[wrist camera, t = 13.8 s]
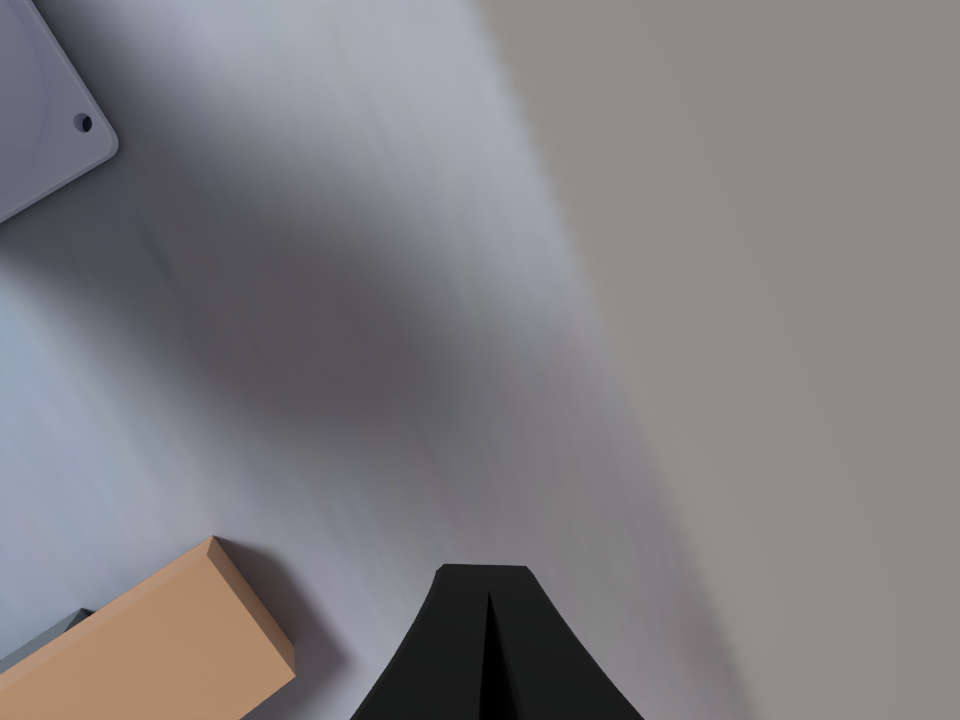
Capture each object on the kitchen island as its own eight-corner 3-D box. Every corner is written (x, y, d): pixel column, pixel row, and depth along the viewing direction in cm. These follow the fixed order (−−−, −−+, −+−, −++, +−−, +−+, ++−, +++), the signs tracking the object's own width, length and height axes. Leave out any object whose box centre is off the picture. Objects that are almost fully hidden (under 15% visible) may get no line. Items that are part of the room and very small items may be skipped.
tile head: (212, 535, 19) (-3, 676, 17) (206, 554, 17) (-37, 715, 15) (293, 646, 20) (98, 792, 18) (295, 676, 18) (78, 842, 16)
